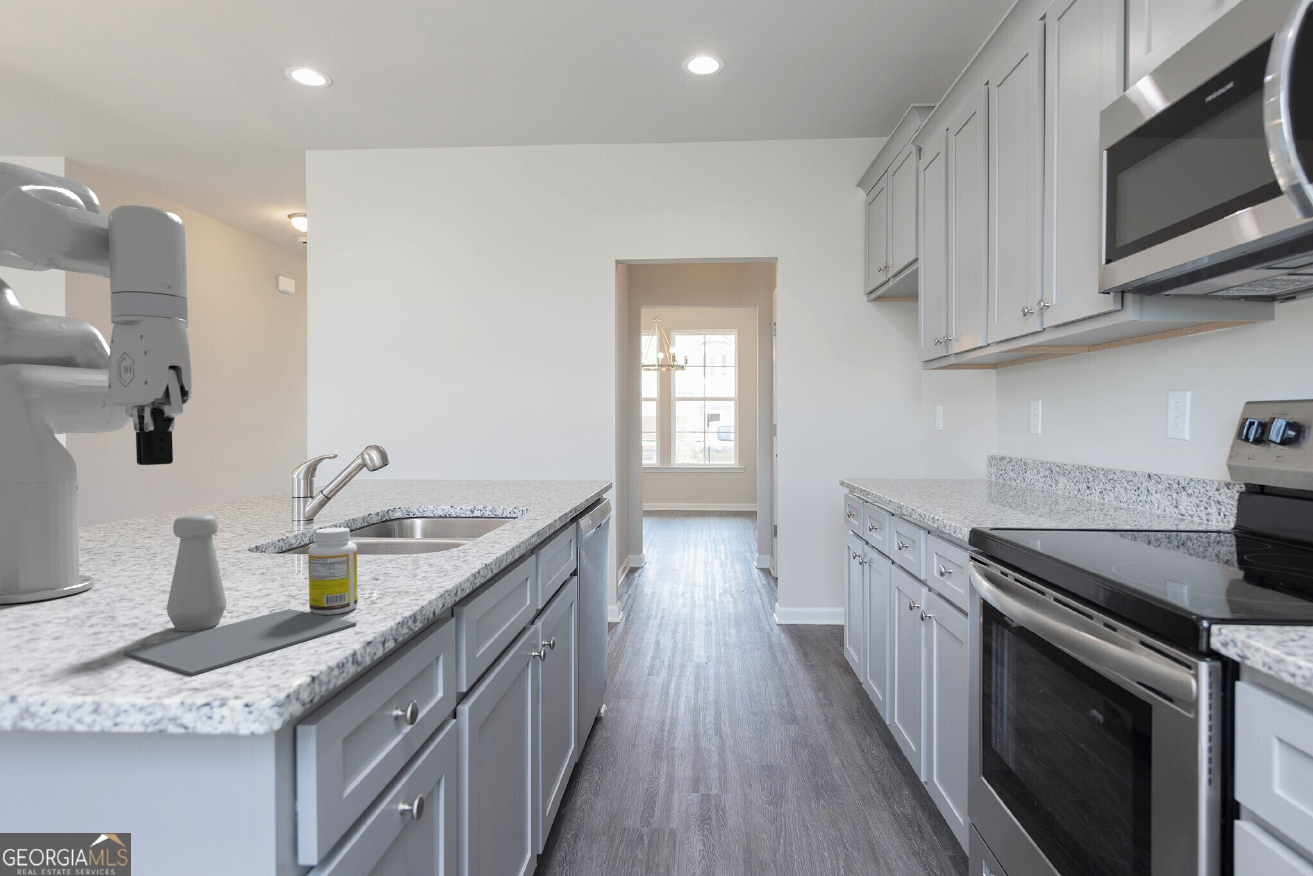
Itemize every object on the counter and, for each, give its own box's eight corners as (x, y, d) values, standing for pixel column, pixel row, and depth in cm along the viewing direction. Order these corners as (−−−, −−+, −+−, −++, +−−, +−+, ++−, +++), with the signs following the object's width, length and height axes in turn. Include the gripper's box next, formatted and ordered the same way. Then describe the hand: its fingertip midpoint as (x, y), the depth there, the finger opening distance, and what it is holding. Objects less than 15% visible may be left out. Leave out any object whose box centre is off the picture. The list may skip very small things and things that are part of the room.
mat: (123, 654, 71) (123, 651, 71) (289, 611, 86) (289, 608, 86) (192, 675, 65) (192, 672, 65) (356, 625, 80) (356, 622, 80)
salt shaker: (196, 635, 77) (194, 519, 76) (153, 632, 78) (151, 518, 77) (238, 620, 82) (236, 512, 82) (197, 617, 84) (195, 511, 83)
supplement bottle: (334, 602, 91) (333, 525, 90) (367, 606, 88) (366, 527, 88) (298, 613, 85) (297, 531, 85) (332, 618, 83) (331, 534, 83)
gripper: (82, 314, 84) (88, 465, 84) (148, 302, 76) (153, 467, 77) (152, 322, 90) (156, 462, 91) (218, 311, 83) (222, 463, 83)
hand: (155, 464), depth 84 cm, fingers closed
